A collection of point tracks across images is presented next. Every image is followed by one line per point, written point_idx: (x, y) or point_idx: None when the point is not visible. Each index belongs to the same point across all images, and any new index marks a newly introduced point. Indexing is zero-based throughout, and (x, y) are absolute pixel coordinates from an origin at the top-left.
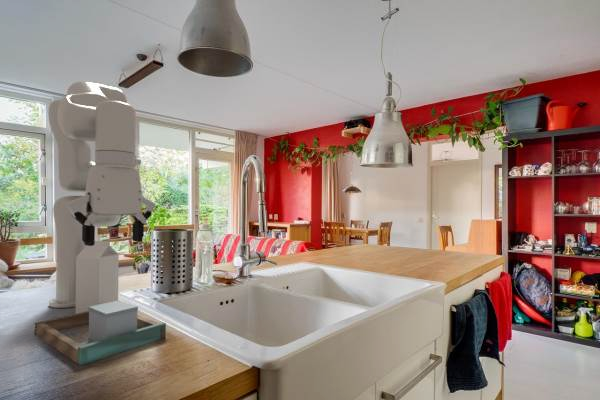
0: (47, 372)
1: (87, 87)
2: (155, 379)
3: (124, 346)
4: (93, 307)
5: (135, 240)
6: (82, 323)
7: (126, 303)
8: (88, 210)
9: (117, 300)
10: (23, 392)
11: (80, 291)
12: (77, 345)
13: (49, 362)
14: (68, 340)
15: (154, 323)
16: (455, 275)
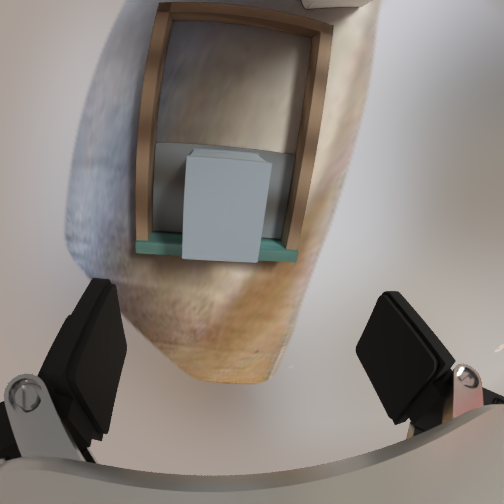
0: (105, 224)
1: None
2: (189, 344)
3: None
4: (190, 175)
5: (368, 324)
6: (252, 25)
7: (261, 213)
8: (20, 494)
9: (367, 1)
10: (77, 259)
11: None
12: (142, 220)
13: (116, 186)
14: (141, 179)
15: (294, 231)
16: None
